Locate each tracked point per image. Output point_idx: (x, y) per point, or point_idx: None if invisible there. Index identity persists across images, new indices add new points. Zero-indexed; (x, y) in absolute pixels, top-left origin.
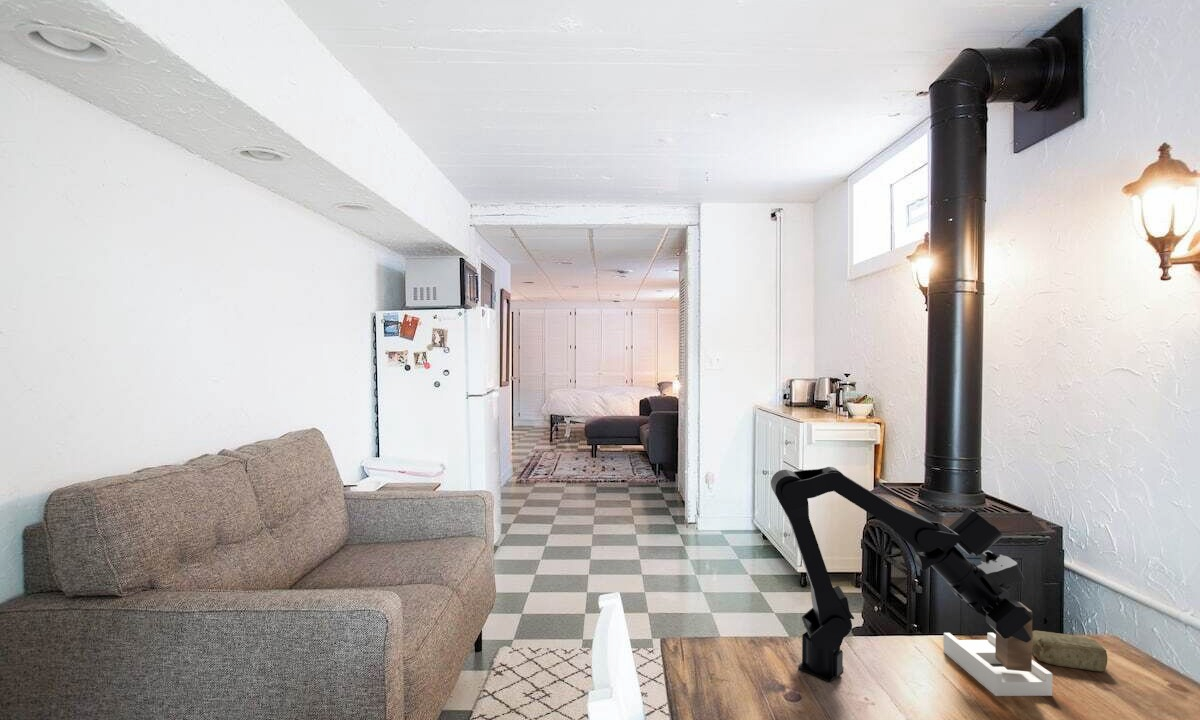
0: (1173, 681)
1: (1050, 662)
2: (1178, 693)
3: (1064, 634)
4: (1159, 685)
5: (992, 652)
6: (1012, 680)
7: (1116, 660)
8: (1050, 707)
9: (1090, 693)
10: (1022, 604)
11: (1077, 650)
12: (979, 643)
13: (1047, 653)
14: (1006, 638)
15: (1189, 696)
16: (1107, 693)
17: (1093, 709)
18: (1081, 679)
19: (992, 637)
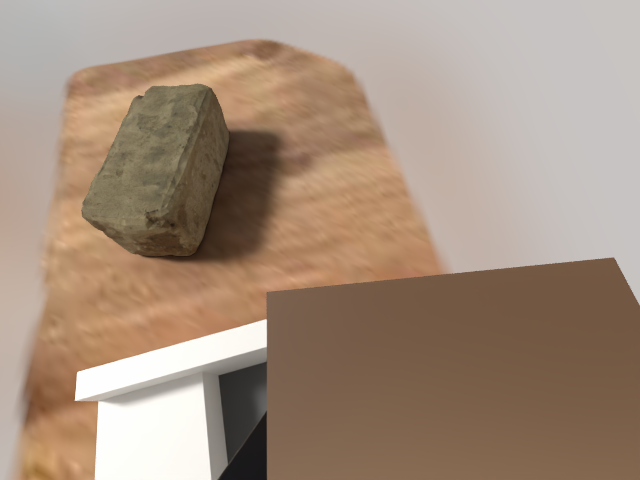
0: (245, 48)
1: (204, 230)
2: (290, 58)
3: (118, 138)
4: (265, 71)
5: (204, 429)
6: None
7: None
8: None
9: (338, 202)
10: (357, 291)
11: (200, 145)
12: (129, 457)
13: (191, 225)
14: None
15: (297, 48)
16: (327, 167)
17: (423, 229)
18: (270, 193)
19: (113, 391)
